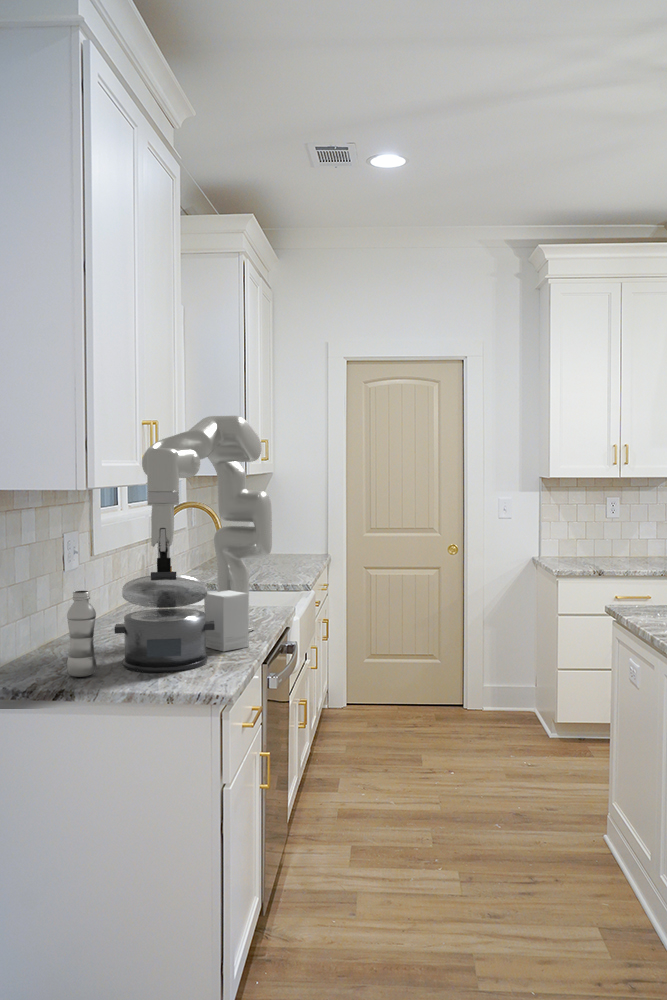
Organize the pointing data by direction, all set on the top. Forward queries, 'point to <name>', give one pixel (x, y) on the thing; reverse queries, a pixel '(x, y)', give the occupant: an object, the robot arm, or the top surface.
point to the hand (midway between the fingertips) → (163, 574)
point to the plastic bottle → (81, 636)
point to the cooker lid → (164, 590)
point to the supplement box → (227, 620)
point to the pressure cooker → (164, 640)
